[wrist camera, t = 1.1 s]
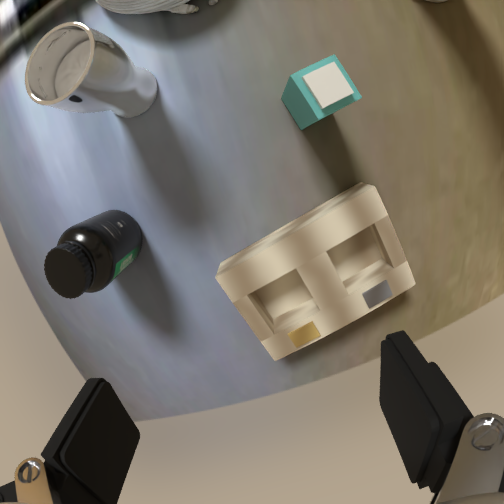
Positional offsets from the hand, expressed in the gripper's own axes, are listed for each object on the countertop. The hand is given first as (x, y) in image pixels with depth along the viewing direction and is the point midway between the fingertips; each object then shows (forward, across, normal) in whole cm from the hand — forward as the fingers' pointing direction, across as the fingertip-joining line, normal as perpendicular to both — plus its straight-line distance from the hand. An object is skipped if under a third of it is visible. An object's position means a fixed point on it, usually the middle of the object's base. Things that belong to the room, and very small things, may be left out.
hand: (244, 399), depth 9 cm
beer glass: (+26, +10, -18) cm, 33 cm away
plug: (+26, -8, -12) cm, 29 cm away
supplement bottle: (+26, +16, -2) cm, 31 cm away
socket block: (+26, -6, +6) cm, 27 cm away
